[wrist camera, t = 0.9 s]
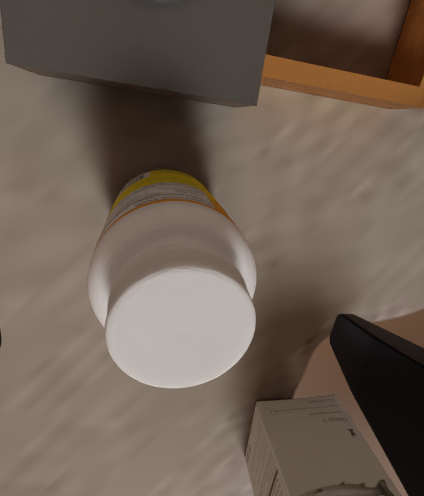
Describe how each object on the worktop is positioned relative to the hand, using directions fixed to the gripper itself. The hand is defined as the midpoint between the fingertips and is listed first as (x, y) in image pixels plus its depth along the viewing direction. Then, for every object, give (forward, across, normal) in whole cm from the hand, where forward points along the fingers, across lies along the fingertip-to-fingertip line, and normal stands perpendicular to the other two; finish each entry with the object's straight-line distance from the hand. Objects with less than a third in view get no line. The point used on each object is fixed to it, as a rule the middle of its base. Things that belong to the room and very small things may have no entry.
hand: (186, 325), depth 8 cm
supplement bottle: (+10, 0, 0) cm, 10 cm away
